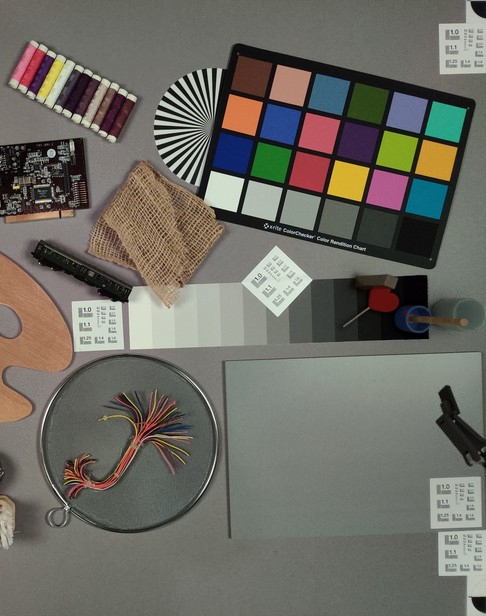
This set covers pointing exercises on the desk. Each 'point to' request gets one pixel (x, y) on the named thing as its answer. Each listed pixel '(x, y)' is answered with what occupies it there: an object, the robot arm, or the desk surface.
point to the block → (375, 282)
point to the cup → (461, 313)
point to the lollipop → (380, 301)
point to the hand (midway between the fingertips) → (476, 395)
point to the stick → (437, 320)
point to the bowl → (403, 324)
